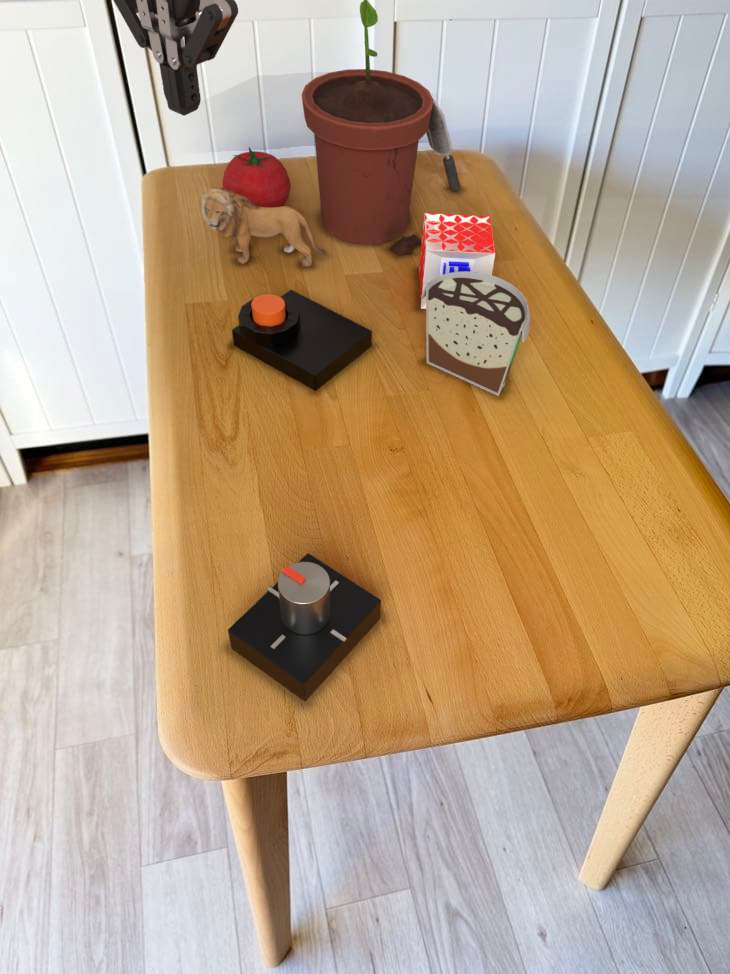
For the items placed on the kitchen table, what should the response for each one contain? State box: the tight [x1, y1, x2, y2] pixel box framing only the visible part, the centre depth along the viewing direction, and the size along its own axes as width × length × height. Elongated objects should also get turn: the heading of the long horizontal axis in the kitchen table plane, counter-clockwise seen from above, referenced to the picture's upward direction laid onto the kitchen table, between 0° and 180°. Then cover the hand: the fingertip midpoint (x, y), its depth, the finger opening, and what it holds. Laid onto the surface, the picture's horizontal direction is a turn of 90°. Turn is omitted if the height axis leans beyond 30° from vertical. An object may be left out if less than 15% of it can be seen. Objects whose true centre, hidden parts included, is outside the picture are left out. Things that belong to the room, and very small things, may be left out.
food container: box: [421, 271, 531, 397], centre depth 88 cm, size 12×6×10 cm, turn 58°
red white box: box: [418, 212, 496, 310], centre depth 98 cm, size 8×8×8 cm
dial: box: [277, 561, 330, 635], centre depth 65 cm, size 4×4×5 cm
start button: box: [251, 293, 286, 327], centre depth 89 cm, size 4×4×2 cm
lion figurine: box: [200, 187, 327, 268], centre depth 99 cm, size 15×5×9 cm, turn 98°
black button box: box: [231, 289, 373, 392], centre depth 91 cm, size 10×12×4 cm
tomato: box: [222, 146, 292, 207], centre depth 106 cm, size 9×9×8 cm
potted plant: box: [301, 0, 461, 256], centre depth 100 cm, size 18×22×25 cm
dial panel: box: [227, 552, 382, 702], centre depth 68 cm, size 10×8×3 cm
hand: (184, 110), depth 69 cm, fingers closed
